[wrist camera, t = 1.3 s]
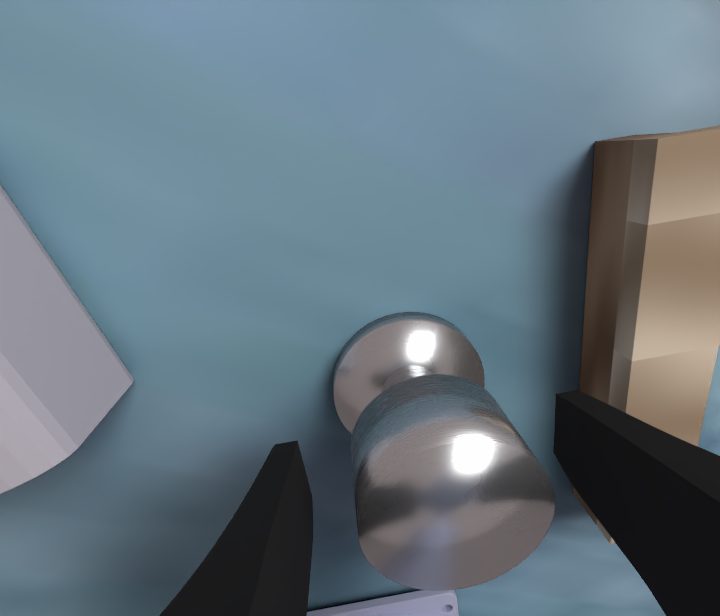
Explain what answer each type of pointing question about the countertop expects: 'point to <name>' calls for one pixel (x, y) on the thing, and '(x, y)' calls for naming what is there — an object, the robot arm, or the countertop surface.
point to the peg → (435, 458)
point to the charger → (46, 359)
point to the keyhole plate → (654, 280)
